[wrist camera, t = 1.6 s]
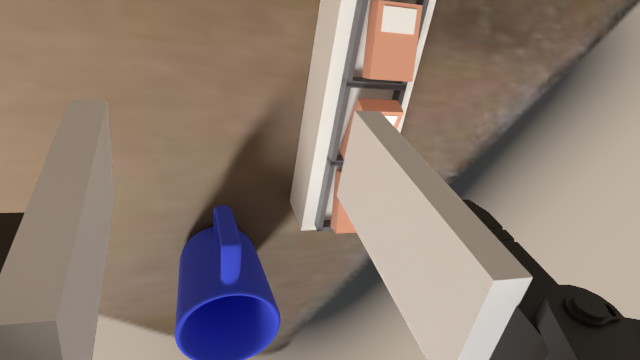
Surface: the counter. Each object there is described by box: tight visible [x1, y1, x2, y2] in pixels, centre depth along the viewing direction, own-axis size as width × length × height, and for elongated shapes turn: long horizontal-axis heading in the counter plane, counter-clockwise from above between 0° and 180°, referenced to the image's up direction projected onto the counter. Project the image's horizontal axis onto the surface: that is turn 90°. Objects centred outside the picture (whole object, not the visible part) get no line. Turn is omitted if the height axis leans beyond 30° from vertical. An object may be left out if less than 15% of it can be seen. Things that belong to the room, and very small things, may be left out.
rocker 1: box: [330, 169, 356, 233], centre depth 39 cm, size 5×3×2 cm, turn 170°
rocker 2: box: [340, 98, 404, 160], centre depth 35 cm, size 5×3×2 cm, turn 172°
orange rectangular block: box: [362, 0, 423, 82], centre depth 32 cm, size 5×3×2 cm, turn 170°
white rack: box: [290, 0, 436, 231], centre depth 38 cm, size 21×7×6 cm, turn 171°
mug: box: [175, 205, 280, 360], centre depth 40 cm, size 8×12×10 cm
